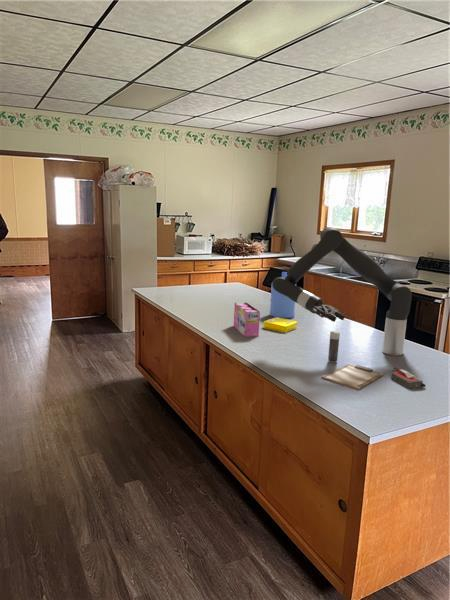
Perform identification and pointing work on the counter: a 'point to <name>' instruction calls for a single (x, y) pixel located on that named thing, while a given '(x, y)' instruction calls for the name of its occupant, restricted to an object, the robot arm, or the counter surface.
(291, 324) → the element tile
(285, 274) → the water jug
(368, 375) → the clipboard
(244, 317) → the pink multipack package
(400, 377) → the walkie-talkie
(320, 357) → the counter surface
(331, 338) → the bottle
